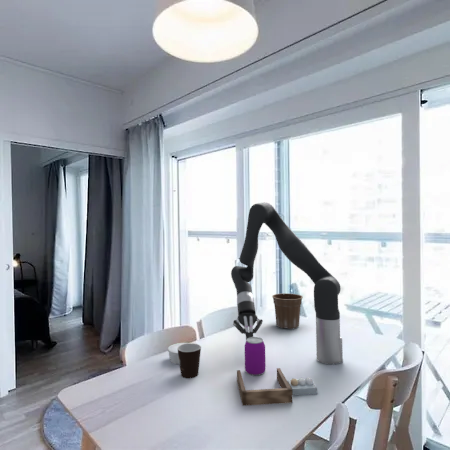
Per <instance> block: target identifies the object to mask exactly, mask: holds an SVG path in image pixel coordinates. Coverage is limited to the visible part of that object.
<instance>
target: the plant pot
mask: <svg viewBox="0 0 450 450" xmlns="http://www.w3.org/2000/svg"><path fill="white" fill-rule="evenodd" d="M271 297H272V299H273V304H274V312H275V325H276V326H277V328H281V329H289V330H294V329H297V327H298V328H299V326H300V321H301V319H300V318H301V317H300V316H301V307H302V302H303V301H302V300H303V295H300V294H297V293H286V292H285V293H275V294H272V296H271ZM293 328H294V329H293Z"/></svg>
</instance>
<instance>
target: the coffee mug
mask: <svg viewBox="0 0 450 450" xmlns="http://www.w3.org/2000/svg"><path fill="white" fill-rule="evenodd" d="M186 343H187V344H182V345H180V346H179V347H178V356H179V364H180V365H179V371H180V376H181V377H182V378H183V379H189V380H190V379H194V378H196V377H198V375H199V371H200V362H201V361H200V359H201V350H202V346H201V345H200V344H198V343H193V342H191V343H189V342H186Z"/></svg>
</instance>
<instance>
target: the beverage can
mask: <svg viewBox="0 0 450 450" xmlns="http://www.w3.org/2000/svg"><path fill="white" fill-rule="evenodd" d="M266 367H267V366H266V345H265V342H264V339H263V338H261V337H258V336H253V337H250V338H247V340H246V339H245V343H244V370H245V372H246V373H247V374H248V375H250V376H253V377H254V376H255V377H256V376H261V375H263V374H264V373H265V372H266Z"/></svg>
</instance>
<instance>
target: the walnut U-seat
mask: <svg viewBox="0 0 450 450" xmlns="http://www.w3.org/2000/svg"><path fill="white" fill-rule="evenodd" d="M276 381H277V383H278V385H279V386H280V388H278V387H277V388H263V389H262V388H261V389H246V386H245V383H244V380H243V376H242V371H241V370H240V369H238V370H236V382H237V387H238V392H239V396H240V400H241V404H242V406H261V405H262V406H263V405H275V404H276V405H277V404H290V403H291V404H292V403H293V395H292V389H291V387H290V385H289V383H288V382H287V378H286V376H285V374H284V373H283V371H282V369H281V368H280V367H277V368H276Z"/></svg>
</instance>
